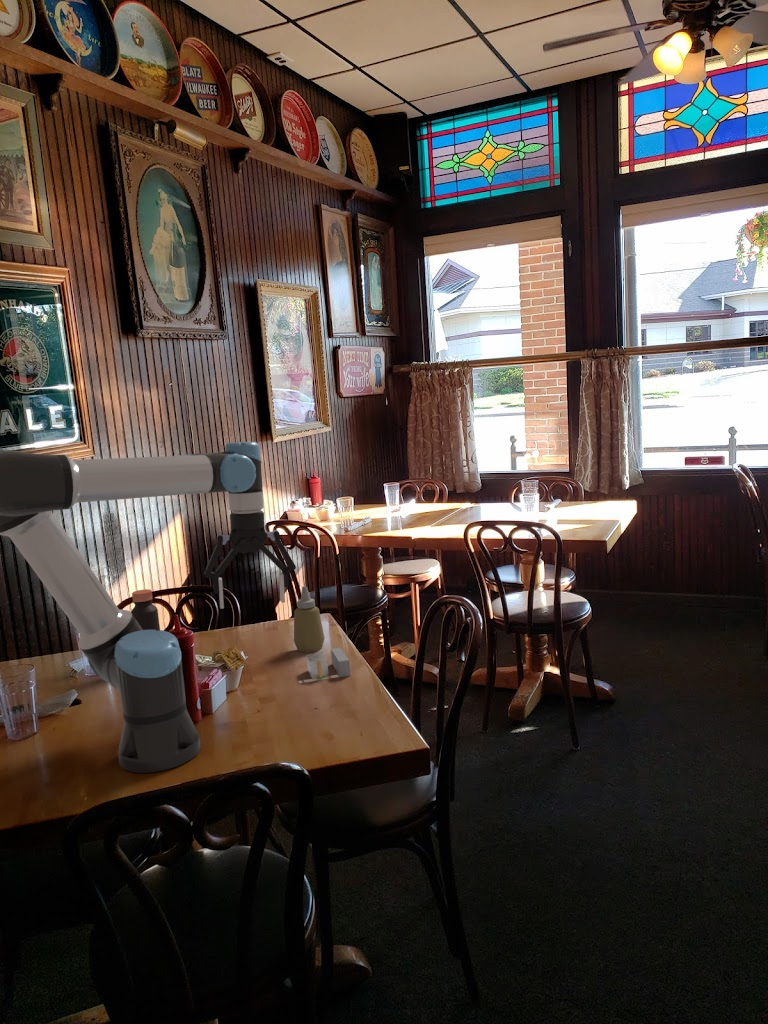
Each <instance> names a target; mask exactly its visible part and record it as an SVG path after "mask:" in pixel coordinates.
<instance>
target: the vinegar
mask: <svg viewBox="0 0 768 1024" xmlns="http://www.w3.org/2000/svg"><path fill="white" fill-rule="evenodd" d="M152 592H153V591H152V589H145V588H144V589H139V590H136V591H135V590H134V591H132V593H131V594H132V602H133V604H134V607H132V610H131V611H130V612H131V613H132V615H133V616H134V618H135V619H136V621H137V622H138V624H139V625H140V627H141V628H142V629H143V630H156V631H159V630H161V628H160V626H161V625H160V619H159V610H158V608H157V606H156V605H154V604H153V593H152Z"/></svg>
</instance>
